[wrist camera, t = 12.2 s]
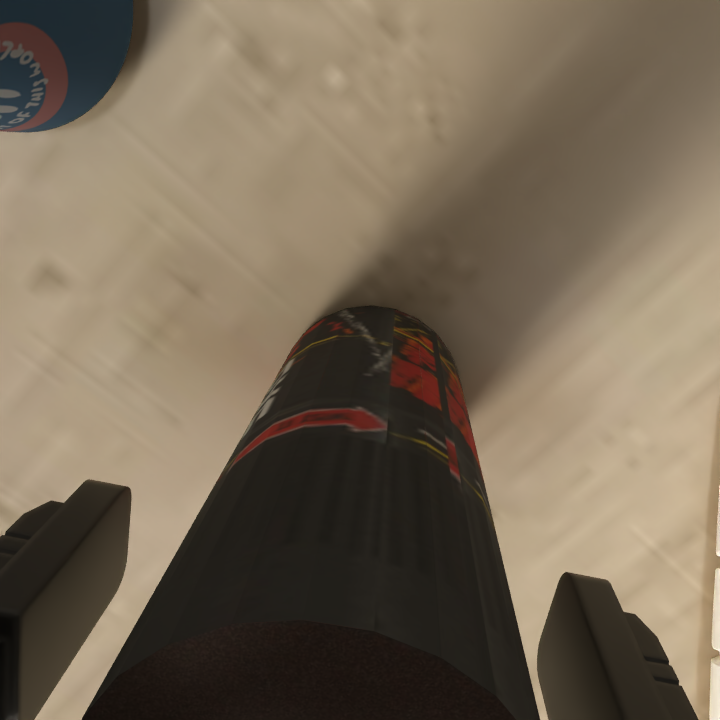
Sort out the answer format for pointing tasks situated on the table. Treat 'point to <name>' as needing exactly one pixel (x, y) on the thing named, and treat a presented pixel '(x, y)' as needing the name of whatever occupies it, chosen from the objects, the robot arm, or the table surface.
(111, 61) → the soda can
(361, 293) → the table surface
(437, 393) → the deodorant
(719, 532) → the unicorn horn
